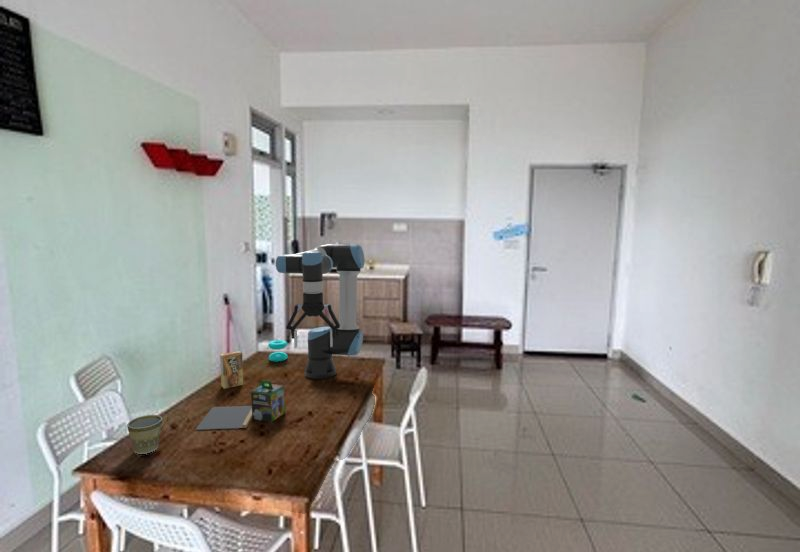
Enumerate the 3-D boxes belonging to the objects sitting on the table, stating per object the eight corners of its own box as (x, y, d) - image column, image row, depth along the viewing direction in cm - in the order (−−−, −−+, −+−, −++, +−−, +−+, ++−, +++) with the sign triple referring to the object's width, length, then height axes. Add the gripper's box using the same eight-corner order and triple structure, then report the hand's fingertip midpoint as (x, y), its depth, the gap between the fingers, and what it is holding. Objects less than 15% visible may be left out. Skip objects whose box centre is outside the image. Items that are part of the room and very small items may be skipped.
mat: (258, 406, 184) (258, 402, 184) (246, 428, 164) (246, 424, 164) (212, 407, 182) (212, 404, 182) (195, 430, 163) (195, 426, 162)
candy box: (240, 382, 212) (239, 350, 210) (243, 384, 208) (242, 352, 206) (221, 386, 206) (219, 354, 204) (224, 389, 203) (222, 356, 201)
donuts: (283, 344, 240) (265, 344, 241) (283, 362, 242) (265, 362, 243) (289, 339, 250) (272, 339, 251) (290, 357, 251) (272, 356, 252)
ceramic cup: (139, 461, 142) (137, 430, 140) (123, 452, 147) (120, 423, 146) (178, 444, 153) (176, 415, 151) (161, 436, 158) (160, 409, 157)
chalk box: (285, 413, 177) (284, 377, 176) (271, 423, 169) (270, 385, 167) (265, 410, 180) (264, 374, 179) (251, 419, 172) (249, 382, 170)
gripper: (345, 290, 177) (346, 343, 179) (281, 291, 174) (282, 344, 177) (345, 293, 170) (346, 348, 172) (277, 293, 167) (279, 349, 169)
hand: (313, 346), depth 174 cm, fingers open, 13 cm apart
